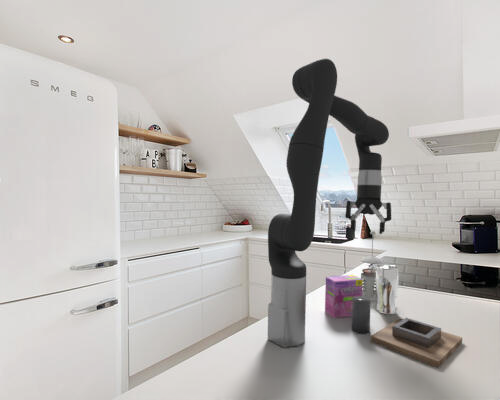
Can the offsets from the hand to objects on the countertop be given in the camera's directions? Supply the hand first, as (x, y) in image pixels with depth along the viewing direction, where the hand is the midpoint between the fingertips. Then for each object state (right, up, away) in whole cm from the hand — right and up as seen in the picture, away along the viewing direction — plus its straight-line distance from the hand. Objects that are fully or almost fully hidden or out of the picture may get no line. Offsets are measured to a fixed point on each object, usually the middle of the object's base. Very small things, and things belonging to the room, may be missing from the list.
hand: (367, 232), depth 102 cm
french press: (+7, -26, +13) cm, 30 cm away
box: (-9, -26, -3) cm, 28 cm away
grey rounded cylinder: (-8, -26, -16) cm, 32 cm away
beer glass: (+6, -26, -1) cm, 27 cm away
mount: (+4, -27, -22) cm, 35 cm away
